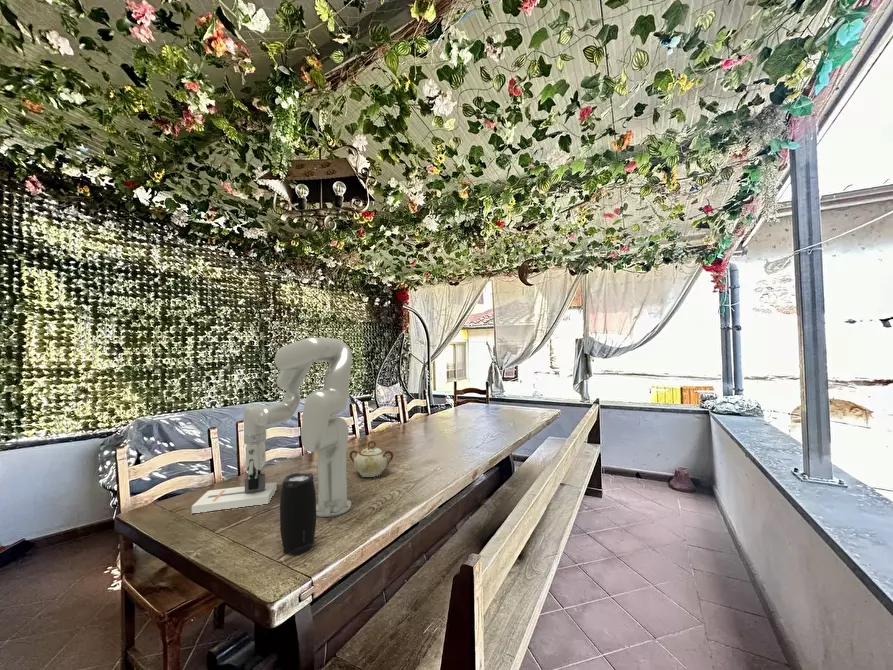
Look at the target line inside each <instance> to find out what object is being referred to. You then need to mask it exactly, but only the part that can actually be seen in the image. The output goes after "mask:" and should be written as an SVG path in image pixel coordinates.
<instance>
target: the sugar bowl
mask: <svg viewBox="0 0 893 670" xmlns="http://www.w3.org/2000/svg"><path fill="white" fill-rule="evenodd" d="M371 443H373V446H370V445H371ZM376 445H377V444H376V441H374V440H370V441H368V443H367V447H366V448H364V449H361V450H355V449H353V450H352V451H350V452H349V458H350V460H351V461H352V463H353V465H354V466H355V470H356V471H357V472H358V473H359V474H360V476H361V477H362V478H364V477H374V478H376V477H375V476H377V477H379V476H381V475H382V473H383V472H384V470H385V469H386V468H387V467H388V465H389V464H390V462H391V461H392V460H393V458H394V454H393V451H391V450H386V451H385V450H384V449H382V448H378V447H377V446H376ZM352 454H355V456H354V458H353V456H352ZM387 454H389V455H390V458H389V457H388V455H387ZM380 474H381V475H380ZM378 475H379V476H378Z"/></svg>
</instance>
